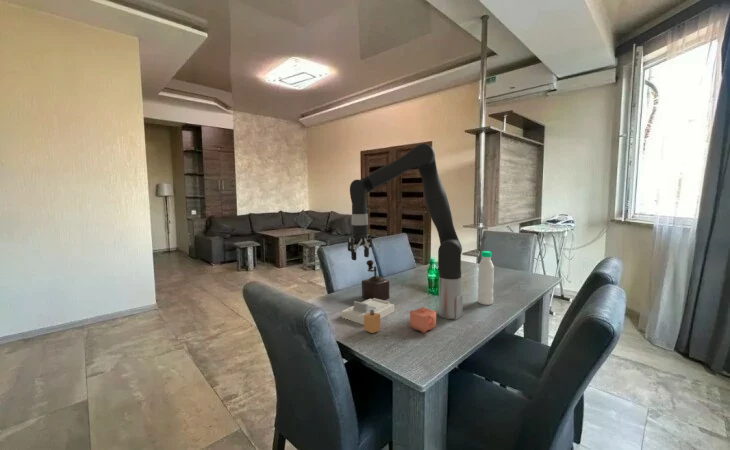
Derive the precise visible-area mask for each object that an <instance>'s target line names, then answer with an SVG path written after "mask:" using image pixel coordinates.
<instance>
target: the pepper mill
mask: <svg viewBox="0 0 730 450" xmlns="http://www.w3.org/2000/svg"><path fill="white" fill-rule="evenodd" d="M365 263H366V265H367V266H368V268H367V272H369V273H370V272H374V273H373V274H374V275H373V276H371V277H369V278H366V279H363V280H361V298H362V299H363V298H364V300H365V299H367V300H368V299H373V298H376V299H380V300H384V301H387V300H389V299H390V280H389V279H386V278H383V277H381V275H380V274H379V276H378V275H377V266H373V265H374V261H373V260H372V259H369V260H367V261H366V262H365Z"/></svg>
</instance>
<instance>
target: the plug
mask: <svg viewBox="0 0 730 450" xmlns="http://www.w3.org/2000/svg"><path fill="white" fill-rule="evenodd" d="M363 330H364V331H365V332H369V333H370V334H374V333H377V332H378V331H380V330H381V319H380V314H378V313H374V310H370V312H369V313H367V314H365V315H364V325H363Z"/></svg>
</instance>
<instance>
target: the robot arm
mask: <svg viewBox="0 0 730 450" xmlns="http://www.w3.org/2000/svg"><path fill="white" fill-rule="evenodd" d="M414 168H417V169H418V171H419V174H420V177H421V181H422V189H423V190H422V191H423V196H424V201H425V202H424V203H425V204H426V209H427V211H428V214H429V216H430V219H431V221H432V222H433V225H434V227H435V228H436V230H437V234H438V239H439V246H438V251H437V265H438V266H437V268H438V316H439V317H440V318H443V319H447V320H459V319H460V318H461V317H462V316H463V301H464V299H463V293H462V266H461V265H462V252H463V246H462V243H461V241H460V239H459V237H458V235H457V232H456V229H455V226H454V223H453V222H454V221H453V216H452V212H451V208H450V203H449V199H448V197H447V193H446V190H445V187H444V185H443V183H442V180H441V178H440V176H439V173H438V168H437V161H436V155H435V151H434V149H433V147H432V146H431V145H429V144H427V143H420V144H418V145H416V146H415V147H414V148H411V150H410V151H408V152H406V153H405V154H404V155H402V156H401V157H399V158H398V159H395V160H394V161H392V162H389V163H387V164H386V165H384V166H382V167H379V168H378V169H376V170H374V171H372V172H370V173H369V174H368V175H366V176H365V177H363V178H361V179H353V180H352V181H351V183H350V184H349V195H350V201H351V234H352V235H353V236H352V237H347V251H348V252H350V254H351V260H352V261H356V260H357V250H358V249H359V248H360V247H361V246H362V247H363V256H364V258H369V256H370V249H371V248H372V247H373V241H372V240H373V237H372V234H369V216H368V203H367V202H366V194H368V193H370V192H371V191H373V190H374V189H376V188H379V187H382V186H383V185H385V184H387V183H389V182H390V181H393V180H394V179H396V178H397V177H398V176H400V175H402V174H403V173H405V172H407V171H409V170H413V169H414Z"/></svg>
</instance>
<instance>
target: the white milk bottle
mask: <svg viewBox="0 0 730 450" xmlns="http://www.w3.org/2000/svg"><path fill="white" fill-rule="evenodd" d="M492 255H493V254H492V251H489V250H487V251H486V250H482V251H481V252H480V256H481V260H480V262H479V264H478V265H477V267H478V273H477V303H479V304H480V305H484V306H489V305H492V304H493V303H494V284H495V281H494V279H495V274H494V273H495V272H494V270H495V266H494V263H493V261H492V260H491V259H492Z"/></svg>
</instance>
